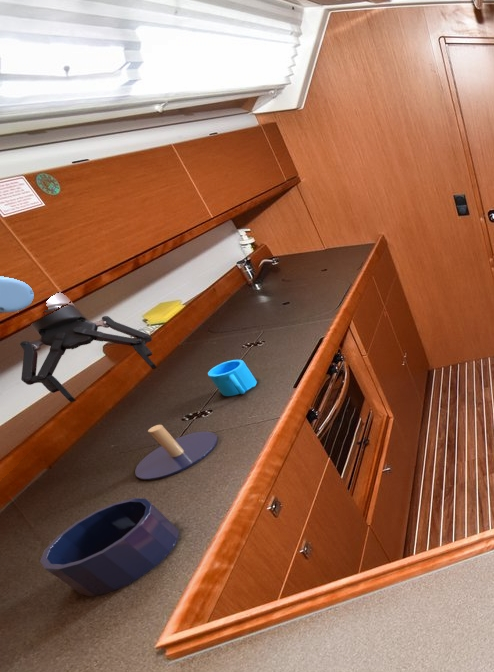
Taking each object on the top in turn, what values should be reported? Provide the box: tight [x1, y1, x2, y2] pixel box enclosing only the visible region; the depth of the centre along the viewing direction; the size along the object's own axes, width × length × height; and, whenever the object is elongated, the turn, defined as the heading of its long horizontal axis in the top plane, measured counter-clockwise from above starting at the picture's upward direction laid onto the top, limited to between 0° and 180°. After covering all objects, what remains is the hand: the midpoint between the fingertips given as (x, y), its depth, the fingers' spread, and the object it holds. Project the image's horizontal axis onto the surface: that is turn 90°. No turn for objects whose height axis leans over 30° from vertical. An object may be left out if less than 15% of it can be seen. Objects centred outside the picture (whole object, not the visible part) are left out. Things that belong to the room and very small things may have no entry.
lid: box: [134, 424, 219, 481], centre depth 100 cm, size 15×15×10 cm
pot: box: [39, 497, 180, 597], centre depth 78 cm, size 14×14×10 cm
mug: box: [207, 359, 258, 397], centre depth 122 cm, size 12×8×8 cm
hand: (114, 382), depth 98 cm, fingers open, 13 cm apart
